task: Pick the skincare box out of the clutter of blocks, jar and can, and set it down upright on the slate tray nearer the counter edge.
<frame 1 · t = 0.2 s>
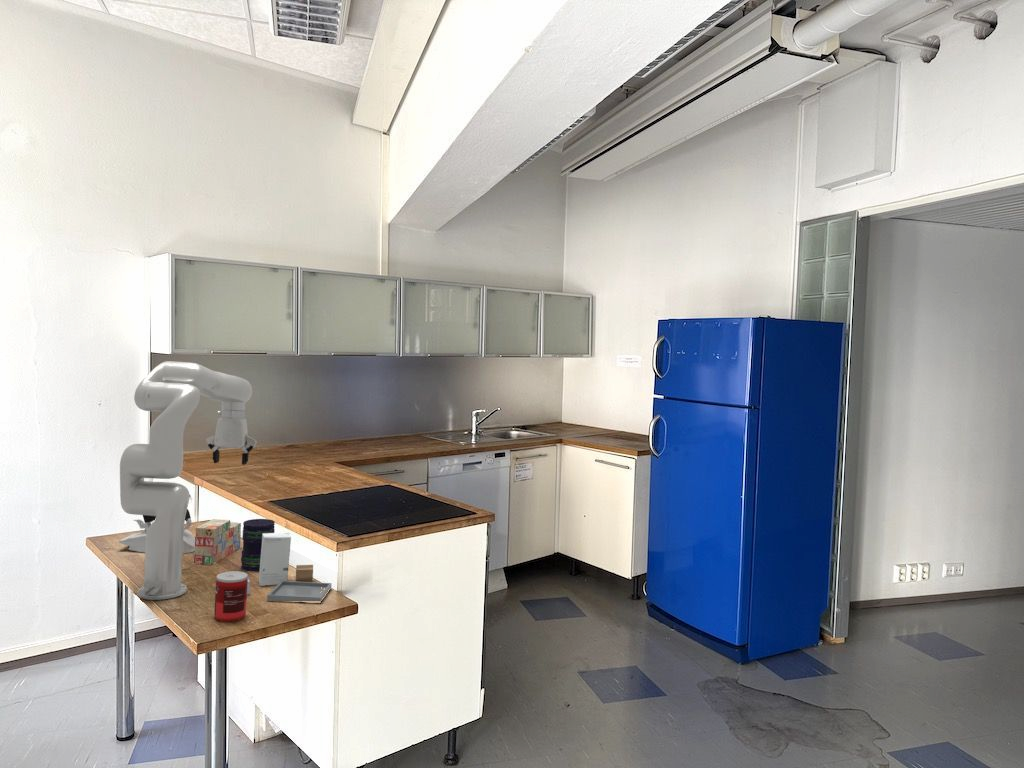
hand: (230, 463, 234), 31 cm above the table, tool pointing down, fingers open, 9 cm apart
walnut block: (303, 583, 207), on the table
blue-grey painted block: (239, 591, 196), on the table
slate tray: (300, 595, 196), on the table
skincare box: (273, 583, 205), on the table
stack of blocks: (218, 556, 229), on the table
storage jar: (256, 568, 219), on the table
canned food: (229, 617, 176), on the table
iron: (162, 549, 233), on the table
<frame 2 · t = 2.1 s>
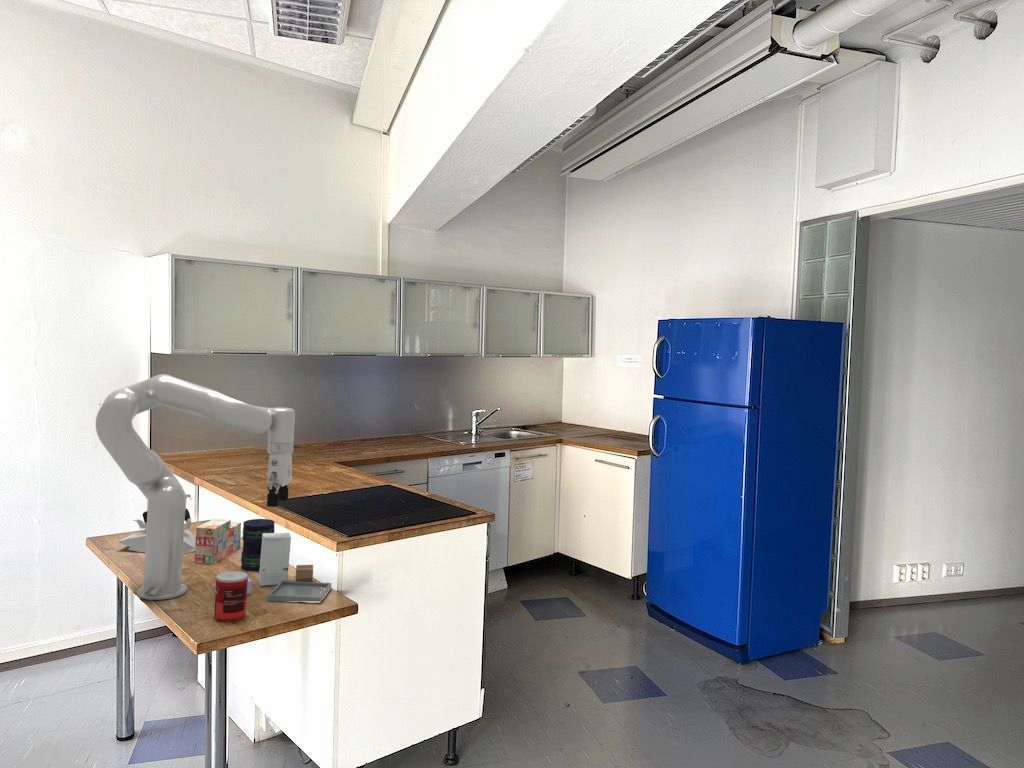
hand: (277, 503, 205), 24 cm above the table, tool pointing down, fingers open, 9 cm apart
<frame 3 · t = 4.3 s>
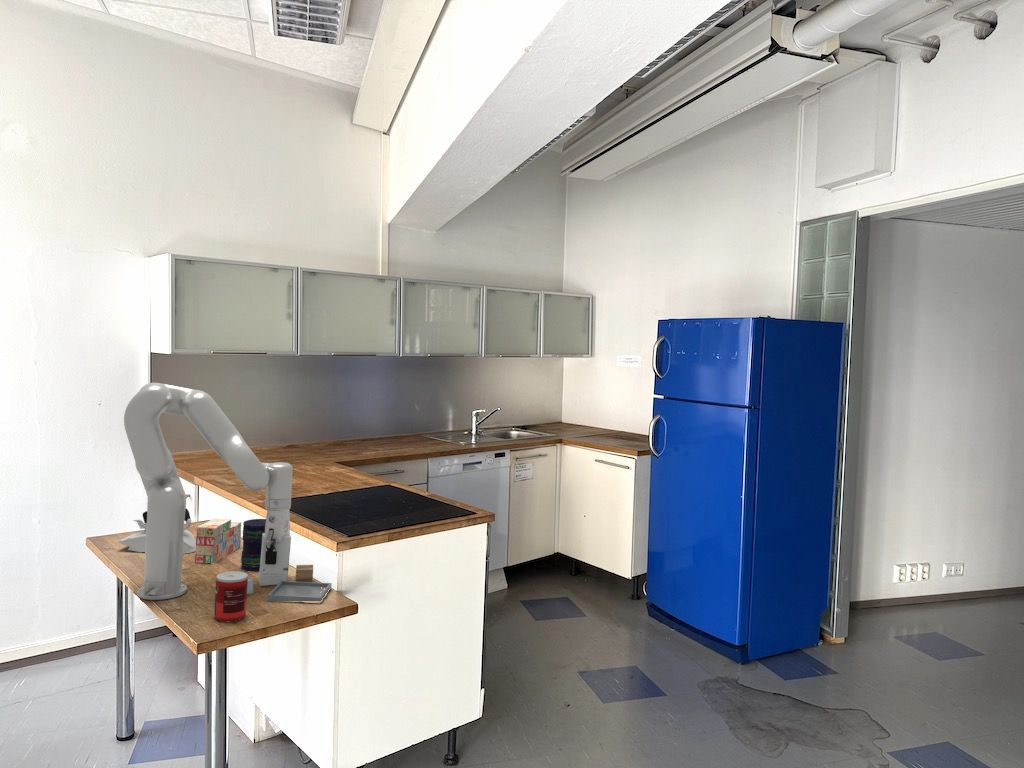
hand: (275, 559, 205), 7 cm above the table, tool pointing down, fingers closed on skincare box, 7 cm apart
skincare box: (273, 583, 205), on the table, touching gripper
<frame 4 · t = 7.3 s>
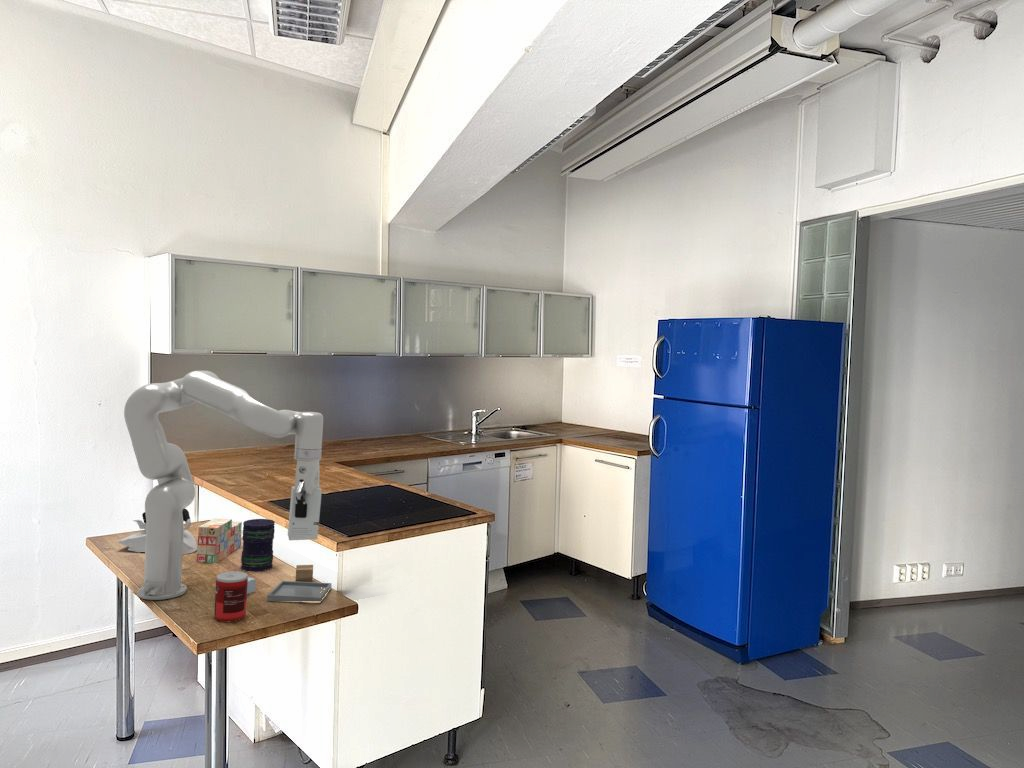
hand: (304, 514, 195), 24 cm above the table, tool pointing down, fingers closed on skincare box, 7 cm apart
skincare box: (303, 538, 195), point 17 cm above the table, touching gripper
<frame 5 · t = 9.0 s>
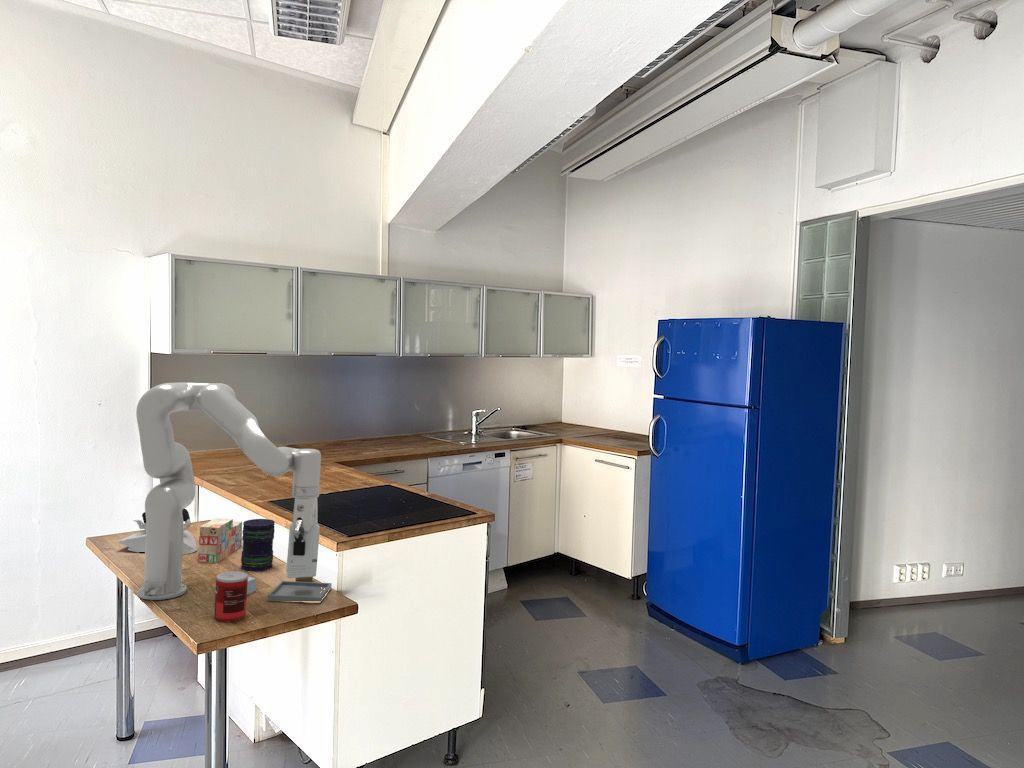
hand: (302, 551, 195), 13 cm above the table, tool pointing down, fingers closed on skincare box, 7 cm apart
skincare box: (301, 575, 196), point 6 cm above the table, touching gripper
when the fingers open (9 cm above the table, at t = 10.4 s): skincare box drops 1 cm, resting on slate tray.
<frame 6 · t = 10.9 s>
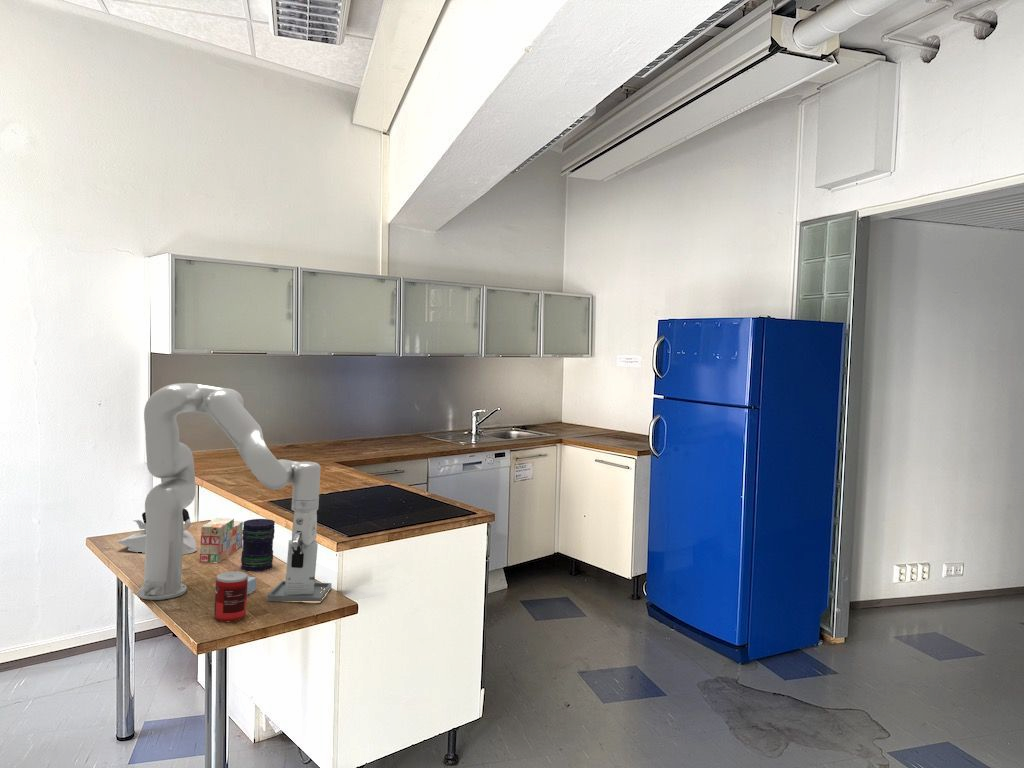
hand: (302, 562, 195), 10 cm above the table, tool pointing down, fingers open, 9 cm apart
skincare box: (299, 592, 196), point 1 cm above the table, touching slate tray
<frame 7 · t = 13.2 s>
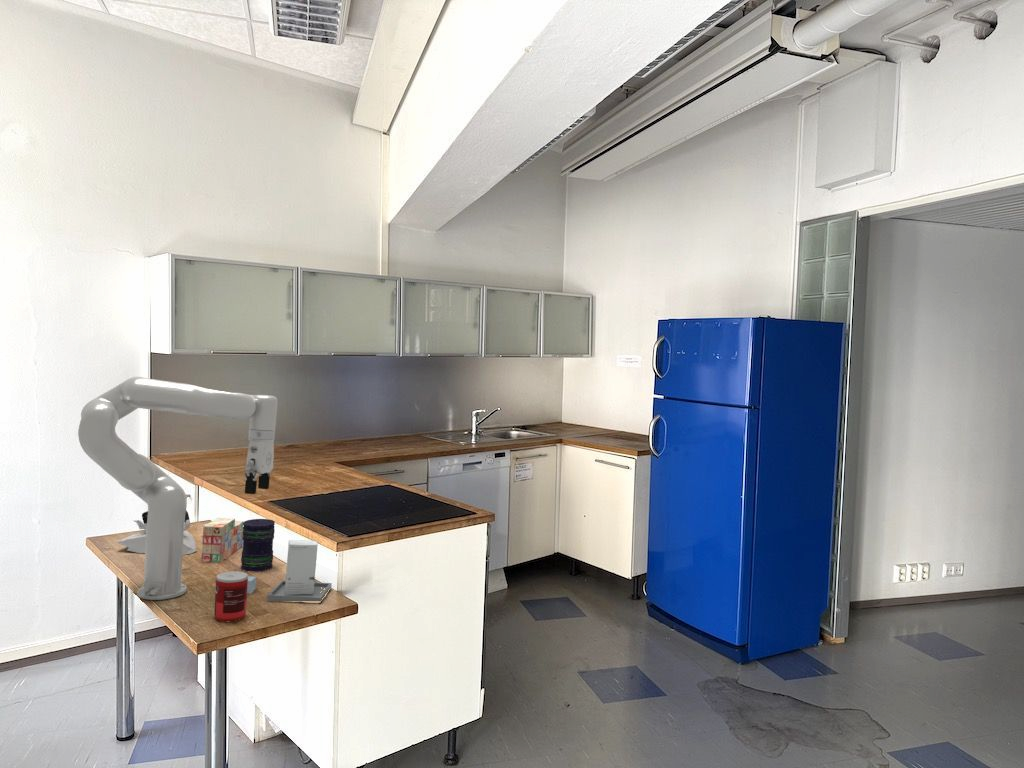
hand: (256, 491, 204), 28 cm above the table, tool pointing down, fingers open, 9 cm apart
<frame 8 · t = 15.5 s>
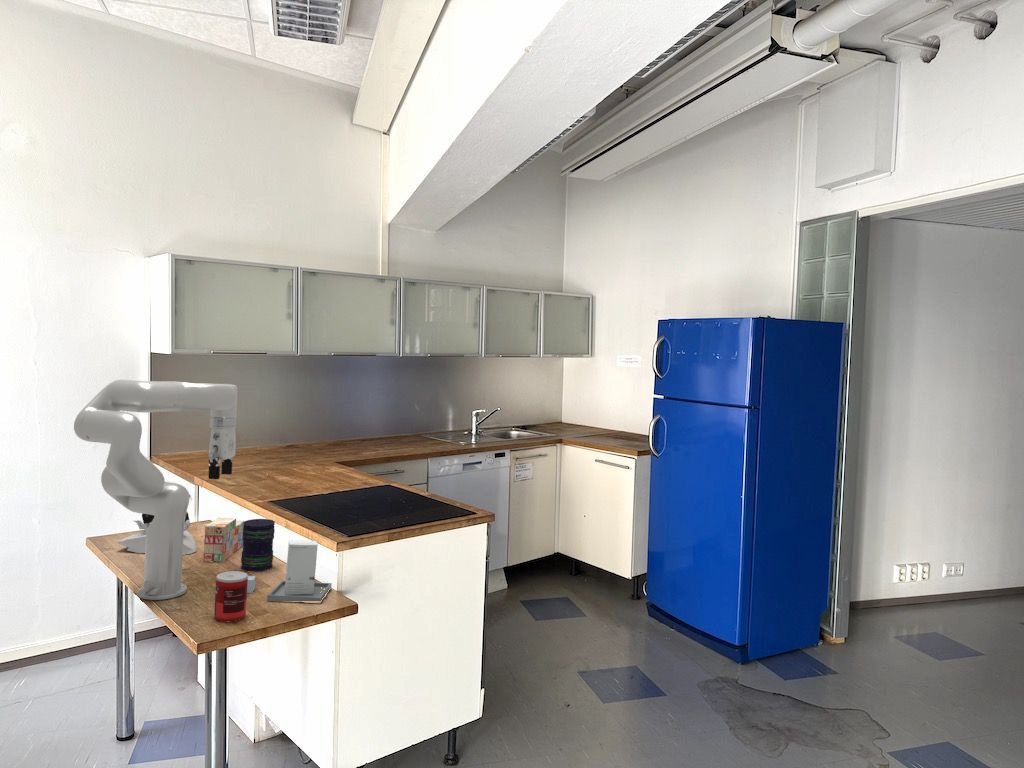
hand: (220, 476, 212), 30 cm above the table, tool pointing down, fingers open, 9 cm apart
at the end: skincare box inside the target area on the slate tray (0.4 cm from its centre), point 0.6 cm above the slate tray's base; skincare box tilted 0°; the gripper is holding nothing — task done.
